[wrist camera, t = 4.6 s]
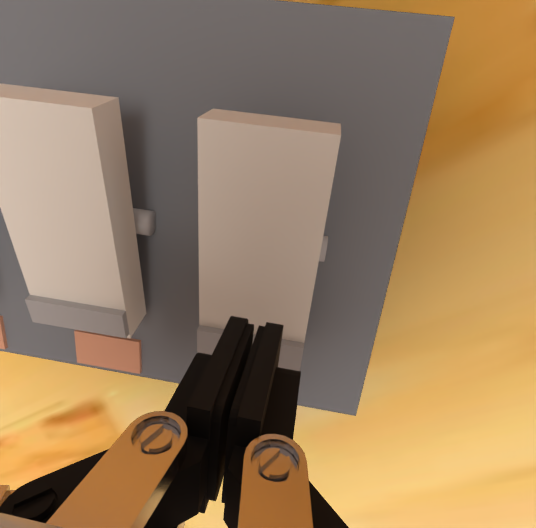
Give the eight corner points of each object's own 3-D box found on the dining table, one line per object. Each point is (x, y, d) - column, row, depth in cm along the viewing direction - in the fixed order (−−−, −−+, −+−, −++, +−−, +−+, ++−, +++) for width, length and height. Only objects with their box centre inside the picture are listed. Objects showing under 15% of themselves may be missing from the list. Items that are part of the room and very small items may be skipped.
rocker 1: (0, 83, 13) (-48, 94, 11) (118, 97, 12) (85, 110, 11) (61, 299, 18) (34, 327, 16) (146, 313, 17) (126, 343, 16)
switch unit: (-109, -13, 18) (-256, -56, 13) (424, 39, 16) (464, 10, 11) (-43, 296, 24) (-128, 339, 19) (350, 364, 22) (357, 430, 17)
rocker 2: (212, 108, 12) (194, 119, 11) (340, 123, 12) (341, 137, 10) (210, 328, 17) (197, 359, 15) (302, 343, 16) (298, 377, 15)
